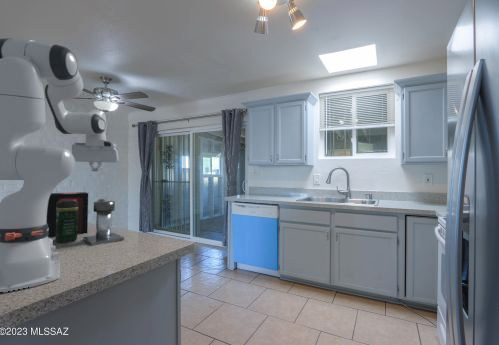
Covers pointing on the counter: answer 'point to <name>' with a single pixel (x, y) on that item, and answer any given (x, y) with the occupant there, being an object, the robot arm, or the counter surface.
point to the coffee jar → (66, 220)
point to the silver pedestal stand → (103, 230)
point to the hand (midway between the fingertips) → (95, 171)
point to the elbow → (104, 206)
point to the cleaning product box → (82, 211)
